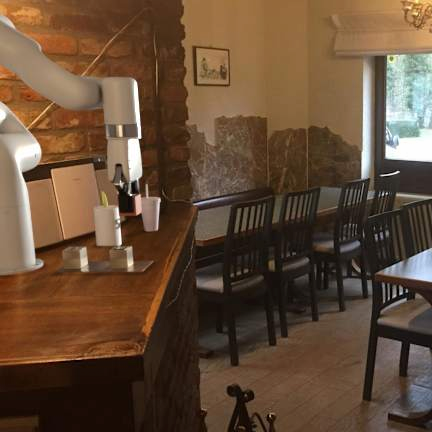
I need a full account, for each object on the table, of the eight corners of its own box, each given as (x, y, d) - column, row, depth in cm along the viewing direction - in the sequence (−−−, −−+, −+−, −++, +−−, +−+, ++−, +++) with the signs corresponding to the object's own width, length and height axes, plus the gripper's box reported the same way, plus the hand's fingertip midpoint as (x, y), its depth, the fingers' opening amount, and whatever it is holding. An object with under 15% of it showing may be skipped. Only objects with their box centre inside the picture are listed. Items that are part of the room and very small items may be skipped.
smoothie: (140, 228, 192) (137, 183, 189) (162, 227, 194) (160, 182, 191) (139, 233, 186) (136, 186, 183) (162, 231, 188) (159, 185, 185)
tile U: (110, 268, 148) (109, 250, 147) (116, 263, 152) (115, 245, 151) (127, 268, 148) (126, 250, 147) (133, 263, 152) (132, 245, 151)
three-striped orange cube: (118, 215, 145) (117, 196, 144) (124, 212, 149) (123, 193, 148) (136, 215, 146) (135, 196, 145) (141, 212, 150) (140, 193, 149)
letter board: (55, 274, 145) (55, 272, 145) (72, 263, 153) (71, 261, 153) (142, 273, 146) (142, 271, 146) (153, 263, 155) (153, 260, 155)
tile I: (63, 269, 147) (61, 250, 146) (70, 264, 151) (69, 246, 150) (81, 268, 147) (79, 250, 146) (87, 264, 151) (86, 246, 150)
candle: (113, 248, 168) (109, 193, 165) (91, 247, 169) (86, 192, 166) (126, 242, 174) (122, 189, 171) (105, 241, 175) (100, 188, 172)
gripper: (119, 129, 151) (125, 204, 155) (92, 135, 135) (100, 218, 139) (151, 129, 152) (156, 203, 156) (128, 134, 136) (135, 217, 139)
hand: (130, 209), depth 147 cm, fingers closed on three-striped orange cube, 4 cm apart
